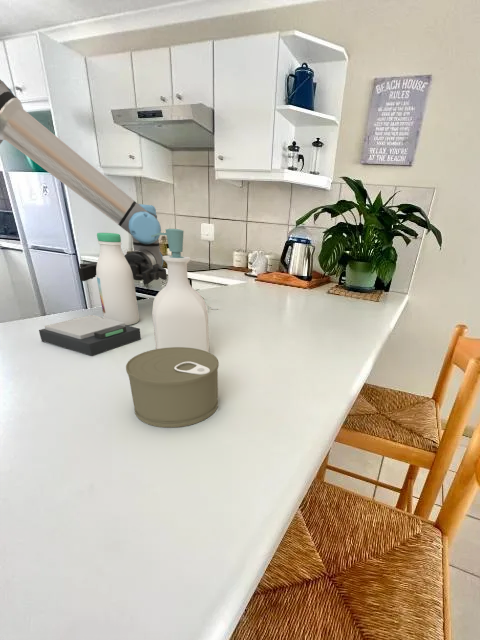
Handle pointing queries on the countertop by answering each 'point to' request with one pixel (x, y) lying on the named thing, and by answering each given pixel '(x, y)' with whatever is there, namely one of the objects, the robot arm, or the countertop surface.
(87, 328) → the kitchen scale
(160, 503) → the countertop surface
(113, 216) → the robot arm
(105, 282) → the milk bottle
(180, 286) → the soap bottle
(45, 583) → the countertop surface
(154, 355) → the can
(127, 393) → the countertop surface
